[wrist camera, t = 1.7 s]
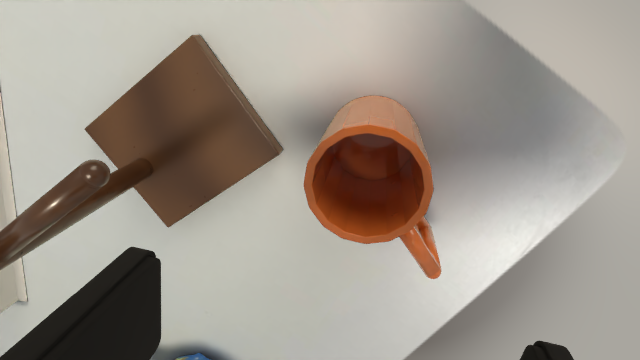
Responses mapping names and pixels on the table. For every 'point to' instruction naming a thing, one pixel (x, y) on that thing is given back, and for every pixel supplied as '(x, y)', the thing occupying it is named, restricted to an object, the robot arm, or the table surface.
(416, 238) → the mug
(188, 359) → the snack cup
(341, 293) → the table surface
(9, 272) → the book
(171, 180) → the mug stand
